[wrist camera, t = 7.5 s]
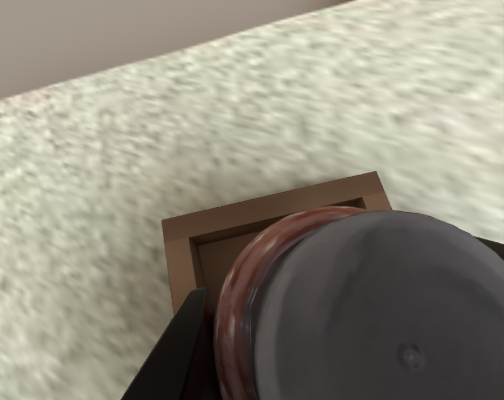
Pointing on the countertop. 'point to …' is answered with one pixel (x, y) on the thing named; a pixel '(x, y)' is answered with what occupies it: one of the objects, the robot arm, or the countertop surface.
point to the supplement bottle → (361, 311)
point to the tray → (248, 229)
